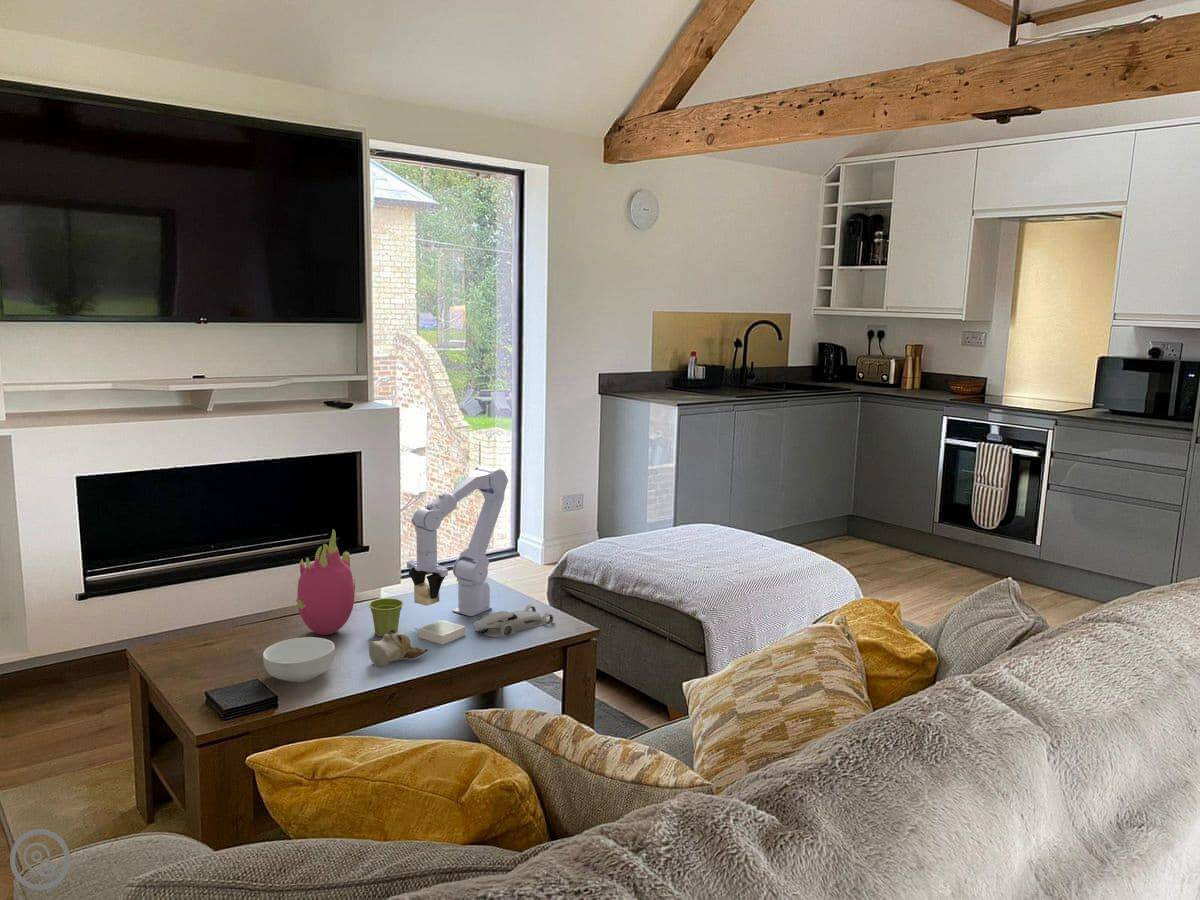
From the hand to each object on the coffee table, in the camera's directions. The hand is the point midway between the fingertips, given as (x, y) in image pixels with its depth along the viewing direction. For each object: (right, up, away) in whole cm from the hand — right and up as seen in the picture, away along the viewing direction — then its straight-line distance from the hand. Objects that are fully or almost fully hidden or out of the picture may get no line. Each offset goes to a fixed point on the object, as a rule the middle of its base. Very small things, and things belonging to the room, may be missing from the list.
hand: (427, 596), depth 258 cm
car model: (+24, -9, +1) cm, 26 cm away
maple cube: (0, -2, 0) cm, 2 cm away
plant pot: (-10, -10, -6) cm, 15 cm away
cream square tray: (+6, -10, -8) cm, 14 cm away
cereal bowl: (-24, -14, -36) cm, 46 cm away
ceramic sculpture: (-4, -13, -25) cm, 29 cm away
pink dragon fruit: (-27, -9, -7) cm, 29 cm away
